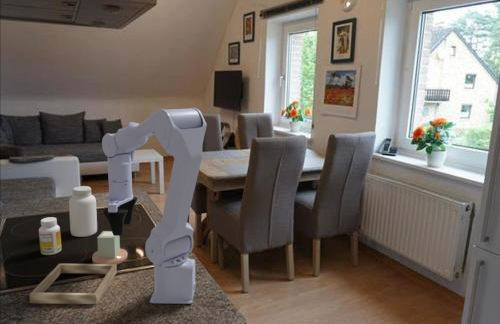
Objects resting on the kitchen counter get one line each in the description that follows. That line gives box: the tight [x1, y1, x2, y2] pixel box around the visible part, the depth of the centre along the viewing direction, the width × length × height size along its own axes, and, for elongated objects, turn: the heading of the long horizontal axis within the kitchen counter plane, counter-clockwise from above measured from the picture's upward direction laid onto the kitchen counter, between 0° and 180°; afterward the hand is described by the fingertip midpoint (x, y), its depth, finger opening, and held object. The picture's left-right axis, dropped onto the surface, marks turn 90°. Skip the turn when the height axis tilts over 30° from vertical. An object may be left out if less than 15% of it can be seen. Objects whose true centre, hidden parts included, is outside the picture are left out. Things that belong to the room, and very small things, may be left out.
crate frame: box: [29, 263, 118, 305], centre depth 93 cm, size 15×15×2 cm
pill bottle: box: [68, 185, 98, 238], centre depth 124 cm, size 8×8×15 cm
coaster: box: [91, 247, 128, 265], centre depth 108 cm, size 9×9×1 cm
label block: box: [96, 230, 121, 258], centre depth 107 cm, size 4×4×6 cm
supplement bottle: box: [38, 216, 62, 256], centre depth 111 cm, size 5×5×10 cm
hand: (122, 229), depth 102 cm, fingers open, 7 cm apart
